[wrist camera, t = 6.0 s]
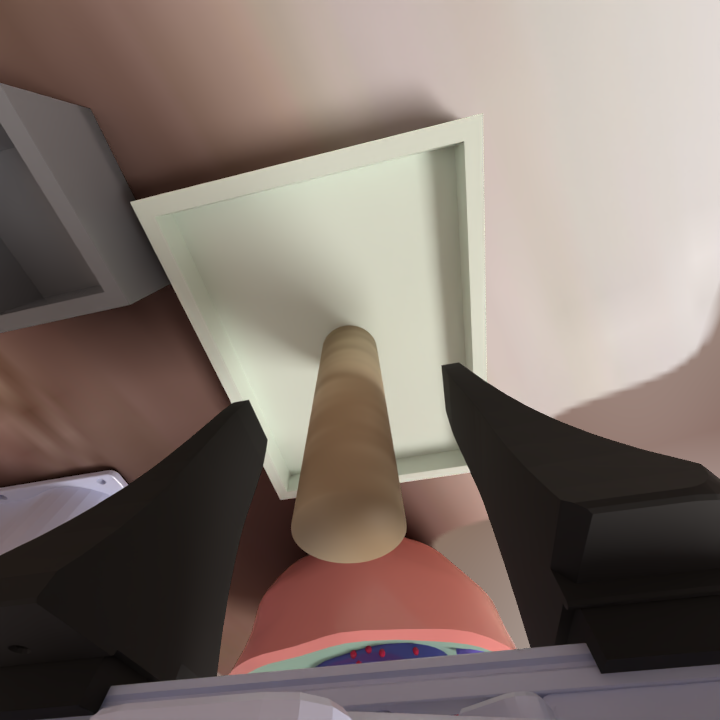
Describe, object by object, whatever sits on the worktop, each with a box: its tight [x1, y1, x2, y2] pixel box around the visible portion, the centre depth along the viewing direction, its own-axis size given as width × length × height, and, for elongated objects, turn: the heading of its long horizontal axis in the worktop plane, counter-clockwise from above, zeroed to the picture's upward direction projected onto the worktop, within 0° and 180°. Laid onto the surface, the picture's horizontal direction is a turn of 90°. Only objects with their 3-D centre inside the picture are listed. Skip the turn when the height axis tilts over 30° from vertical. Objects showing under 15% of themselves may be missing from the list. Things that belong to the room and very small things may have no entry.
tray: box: [130, 113, 487, 500], centre depth 15 cm, size 12×16×2 cm
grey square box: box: [0, 83, 171, 333], centre depth 11 cm, size 6×6×3 cm
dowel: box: [291, 326, 407, 563], centre depth 11 cm, size 3×3×9 cm
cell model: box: [229, 537, 517, 716], centre depth 20 cm, size 17×20×11 cm
